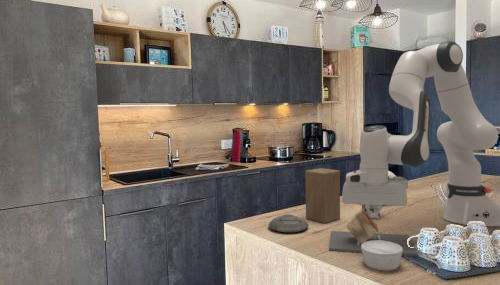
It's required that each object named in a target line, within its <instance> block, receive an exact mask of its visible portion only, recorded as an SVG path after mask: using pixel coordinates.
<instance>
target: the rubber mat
mask: <svg viewBox="0 0 500 285" xmlns="http://www.w3.org/2000/svg"><path fill="white" fill-rule="evenodd" d="M409 237H410V235H409V234H398V233H397V234H394V233H378V232H377V233H376V234H374V235H373V236H372V237H370V238H369V239H368V240H367V241H373V240H382V241H389V242H393V243H396V244H398V245H400V246H401V247H402V248H403V253H402V256H404V257H417V258H418V257H419V253H418V251H417V250H416V251H417V252H416V251H415V249H416V248H415V249H414V248H410V247H413V246H414V247H415V245H414V243H413V241H412V239H411V240H410V241H409V245H410V247H408V245H407V239H408V238H409ZM367 241H365V242H367ZM361 245H362V244H361V243H360V242H359V241H358V240H357V239H356V238H355V237H354V235H353V234H352V233H351V232H350V231H341V230H340V231H339V230H338V231H337V230H331V231H330V238H329V245H328V251H329V252H341V253H342V252H345V253H359V254H363V253H362V250H361ZM402 256H401V257H402Z"/></svg>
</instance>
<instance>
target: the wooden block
mask: <svg viewBox="0 0 500 285" xmlns="http://www.w3.org/2000/svg"><path fill="white" fill-rule="evenodd" d="M305 219H307V220H310V221H312V222H318V223H321V224H327V223H330V222H334V221H338V220H340V219H341V171H340V170H338V169H332V168H331V169H330V168H321V167H320V168H319V167H318V168H314V169H308V170H305Z"/></svg>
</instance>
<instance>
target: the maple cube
mask: <svg viewBox="0 0 500 285" xmlns="http://www.w3.org/2000/svg"><path fill="white" fill-rule="evenodd" d="M346 229H347V230H348V232H351V233H352V234H353V235H354V237H355V238H356V239H357V240H358V241H359V242H360V243H361V244H363V243H364V242H365V241H367V240H368V239H369V238H370V237H372V236H373V235H374V234H376V233H378V232H379V231H380V230H379V227H378V224H377V223H376V222H375V221H374V220H373V219H371V218H369V215H368V214H367V213H366V212H365V211H364V210H363V209H362V208H361V209H360V210H359V211H358V212H356V213H355V214H354V215H353V216H351V217H350V218H349V219H348V220H347V221H346Z"/></svg>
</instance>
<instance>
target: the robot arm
mask: <svg viewBox="0 0 500 285" xmlns="http://www.w3.org/2000/svg"><path fill="white" fill-rule="evenodd" d="M463 59H464V54H463V48H462V47H461V46H460V45H459V44H458V43H457V42H455V41H451V40H448V41H442V42H441V43H434V44H430V45H428V46H425V47H422V48H420V49H418V50H409V51H406V52H403V53H402V55H400V57H399V59H398V60H397V63H396V65H395V67H394V69H393V72H392V75H391V77H390V78H391V79H390V82H389V85H388V94H389V96H390V98H391V99H392V100H393V101H394V102H395V103H396V104H398V105H399V106H401V107H404V108H408V109H410V110H411V111H413V119H412V131H411V133H410V134H408V135H398V134H397V135H395V134H391V133H389V132H388V130H387V127H386V126H385V125H378V124H376V125H370V126H366V127H364V128H363V129H362V131H361V133H360V140H359V155H360V163H359V169H357V170H353V171H351V172H347V173H346V175H345V181H344V183H343V186H342V192H341V202H342V203H343V204H344V205H362V204H364V205H365V207H366V209H367V211H368V213H369V218H378V213H379V214H380V212H381V211H382V209H383V206H392V207H393V206H394V207H395V206H396V207H405V206H406V205H407V204H408V195H407V190H408V188H409V181H408V179H407V178H405V177H403V176H402V175H401V176H396V175H395V176H396V177H395V176H388V171H389V164H391V165H400V166H405V167H411V168H416V169H417V168H419V167H421V166H422V165H424V164H425V163H427V161H428V159H429V157H430V141H429V140H430V138H429V137H430V121H431V100H430V96H429V94H428V93H427V92H426V91H425V90H424V86H425V81H426V78H430V77H433V80H434V86H435V90H436V93H437V97H438V100H439V103H440V104H439V105H440V108H441V110H442V112H443V113H444V114H445V115H447V117H449V120H451V121H446V122H443V123H442V124H440V125H439V126H438V128H437V131H436V138H437V141H438V142H440V144H441V146H442V147H443V150H444V152H445V155H446V159H447V164H448V165H447V166H448V182H447V184H446V197H447V199H446V206H445V210H444V213H443V217H442V218H443V219H444V220H446V221H447V222H451V223H454V224H460V225H463V226H466V225H467V223H468V222H469V221H482V222H484V223H485V225H486V226H485V227H500V204H499V203H498V202H496V201H494V200H493V199H492V198H490V197H489V196H488V195H487V194H490V193H491V192H492V189H491V188H490V187H488V186H486V187H485V186H484V185H482V166H481V165H482V164H481V163H480V162H479V160H478V159H477V158H476V157H475V154H474V151H484V150H489V149H492V148H493V147H494V146H495V145H496V144H497V141H498V139H499V134H498V133H499V131H498V130H497V128H496V126H495V125H494V124H492V123H491V122H489V121H488V120H487V119H486V118H485V117H484V116H483V114H482V112H481V111H480V110H479V108H478V106H477V105H476V103H475V99H474V98H473V94H472V93H473V92H472V90H471V87H470V84H469V80H468V76H467V73H466V72H465V70H464V68H463V65H462V62H463ZM388 179H389V180H388ZM370 205H377V208H378V209H377V211H376V212H371V211H370V209H369V208H370Z"/></svg>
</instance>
